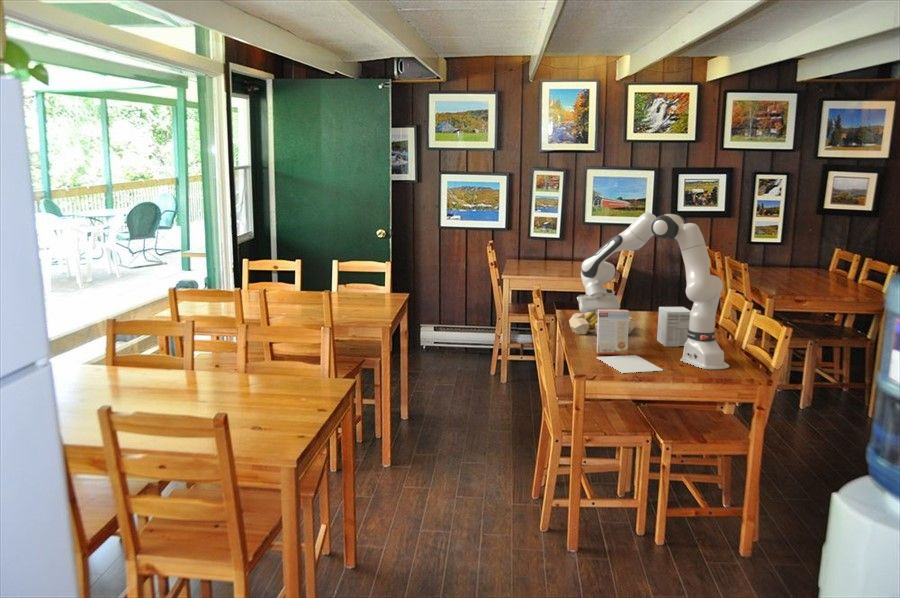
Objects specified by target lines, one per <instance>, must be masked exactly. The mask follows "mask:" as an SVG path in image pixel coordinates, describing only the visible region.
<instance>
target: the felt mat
mask: <svg viewBox="0 0 900 598" xmlns="http://www.w3.org/2000/svg"><path fill="white" fill-rule="evenodd" d="M595 359H598V361H600V360H601V361H600V362H602V361H603V362H602V363H603V364H605V363H606V365H607V364H608V365H607V366H609V367H610V366H611V367H610V368H612V367H613V368H614V370H615V369H616V370H615V371H617V370H618V371H619V372H618V371H617V372H618V373H620V372H621V373H620V374H622V375H623V373H627V374H639V373H638V372H642V373H654V372H653V371H658V372H664V371H663V370H664V369H663V368H661V367H659V366H657V365H656V364H653V363H652V362H650V361H648V360H646V359H644V358H643V357H640V356H638V355H636V354H627V355H611V356H609V355H608V356H596V358H595ZM613 368H612V369H613ZM636 372H637V373H636Z"/></svg>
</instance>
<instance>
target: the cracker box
mask: <svg viewBox="0 0 900 598" xmlns="http://www.w3.org/2000/svg"><path fill="white" fill-rule="evenodd" d="M629 316H630V311H629V310H628V309H619V310H613V309H598V324H597V333H596V334H597V335H596V353H597V355H611V356H624V355H629V354H628V352H629V351H628V350H629V335H628V328H629Z"/></svg>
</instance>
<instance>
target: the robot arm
mask: <svg viewBox="0 0 900 598" xmlns="http://www.w3.org/2000/svg"><path fill="white" fill-rule="evenodd" d="M653 236H655V237H656V238H659V239H664V240H674V239H675V240H676V241H677V242H678V246H679V249H680V253H681V256H682V259H683V264H684V270H685V280H686V287H685V294H686V297H687V299H688V300H689V301H691V302H693V304H692V307H691V310H690V320H689V329H688V332H687V337H688V339H687V341H686V343H685V346H684V347H683V350H682V351H683V352H682V353H683V354H682V357H681V358H680V360H679V361H680V362H682V361H683V362H682V363H685V364H687V363H688V365H690V364H691V365H690V366H693V365H694V366H693V367H696V368H698V367H699V368H698V369H701V368H702V370H724V369H728V368H730V365H729V364H728V363H726V362H725V351H724V350H723V349H721V347H720V346H719V343H718V342H717V341H716V340H717V339H718V335H717V334H716V330H715V326H716V324H715V323H716V316H717V315H716V313H717V310H718V306H719V301H720V299H721V293H722V291H723V288H724V284H723V281H722V279H721V278H720V277H719V276H717V275H714V274H713V275H712V274H711V272H710V265H711V263H710V262H711V259H710V255H709V252H708V248H707V244H706V242H705V238H704V236H703V233H702V232H701V229H700V227H699V225H698V224H696V223H692V222H688V223H686V220H685V219H684V217H683V216H682V215H680V214H678V213H666V214H665V213H664V214H662V215H657V216H656V215H655V214H653V213H651V212H644V213H642V214H641V215H640V216H638V217H637V218H636V219H635V220H634V221H633V222H632V223H631V224H630V225H629V226H628V227H627V228H626V229H625V230H623V231H622V232H619V233H618V234H617V235H614V236H612V237H611V238H610V239H608V241H606V242H605V243H604V244H603V245H602V246H601V247H599V248H598V249H596V251H595V252H594V253H592V254H591V255H589V256H587V257H586V258H585V259H584V260H582V263H581V264H580V265H581V266H580V277H581V282H582V285H583V287H584V289H585V290H584V292H585V294H578V296H577V297H576V299H577V302H578V309H579V311H580V313H582V314H585V313H587V312H596V314H597V315H598V309H613V310H620V308H621V304H620V301H619V299H618V297H617V295H615V290H613V289H610V288H607V287H604V286H603V285H606V284H607V283H608V284H609V282H611V281H612V280H613V279H614V278H615V276H616V272H617V271H616V266H615V265H614V264H613V263H611V262H608V261H606V260H608V258H610V256H612V255H613V254H614V253H617V252H623V251H629V252H630V251H638V250H640V248H643V247H644V245H646V243H648V241H649V240H650V239H651V238H652V237H653Z"/></svg>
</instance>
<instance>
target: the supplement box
mask: <svg viewBox="0 0 900 598" xmlns="http://www.w3.org/2000/svg"><path fill="white" fill-rule="evenodd" d="M690 311H691V310H690V309H688V308H686V307H685V306H659V307H658V315H657V316H658V321H657V334H656V340H657V342H658V343H660V344H661V345H662V344H663V345H662V346H664V347H679V346H685V343H686V341H687V339H688V337H687V332H688V329H689V320H690Z"/></svg>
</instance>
